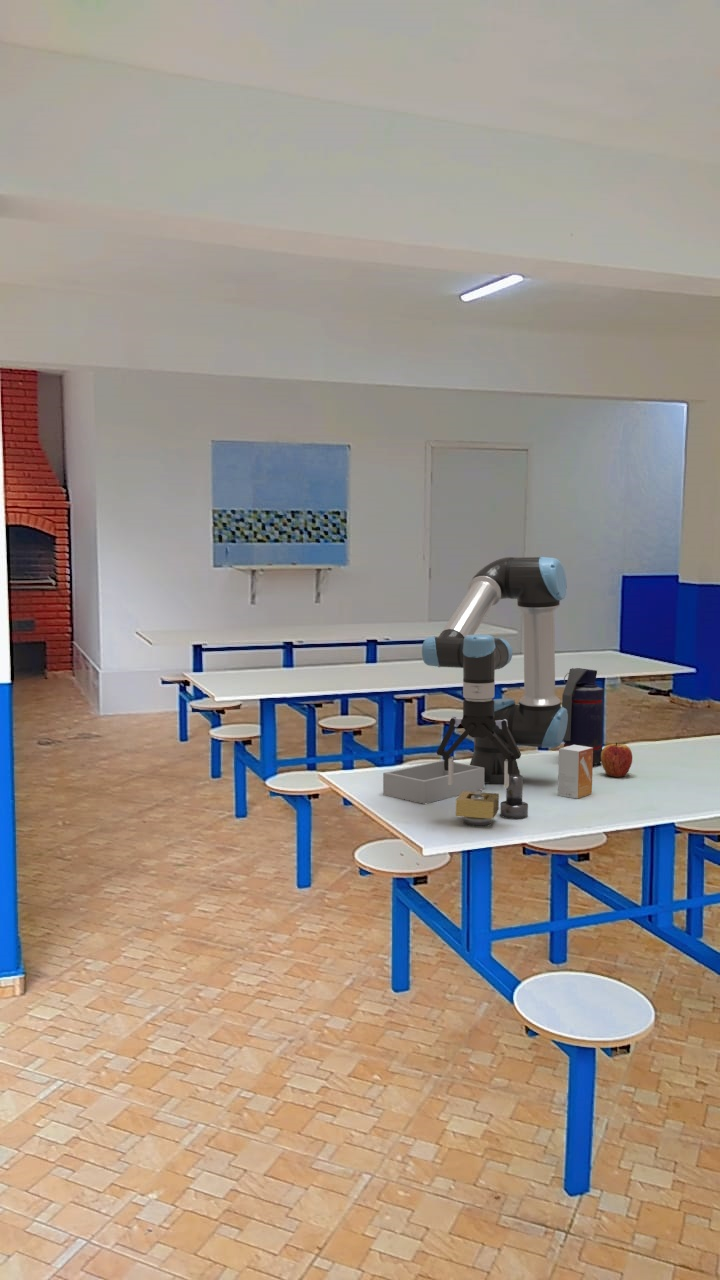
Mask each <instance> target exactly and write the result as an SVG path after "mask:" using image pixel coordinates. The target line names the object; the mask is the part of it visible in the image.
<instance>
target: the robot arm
mask: <svg viewBox="0 0 720 1280" xmlns="http://www.w3.org/2000/svg"><path fill="white" fill-rule="evenodd" d="M567 583H568V582H567V575H566V571H565V569H564V565H563V564H562V562H561V561H560V560H559V559H557V558H555V557H546V556H531V557H529V556H526V557H525V556H523V557H522V556H521V557H517V556H515V557H514V556H513V557H511V556H507V557H501V558H499V559H495V560H493V561H492V562H489V563H488V564H487V565H485V566H484V567H483V568H481V569H480V570H479V571H478V572H476V574H475V575H474V576H473V577H472V579H471V580H470V581H469V583H468V588H467V593H466V594H465V595H464V597H463V598H462V601H461V602H460V604H459V605H458V606H457V608H456V610H455V611H454V612H453V614H452V616H451V617H450V619H449V620H448V621H447V623H446V625H445V626H444V628H443V630H442V631H441V632H440V634H439V635H438V636H429V637H426V638H425V639H424V640H423V643H422V646H421V656H422V660H423V661H422V662H423V663H424V664H425V665H426V666H430V667H437V668H455V669H457V668H459V669H463V670H462V676H463V680H462V685H463V686H462V697H463V698H464V699H463V701H462V706H463V707H462V718H457V717H456V716H452V717H451V719H450V720H449V726H448V729H447V731H446V733H445V735H444V737H443V739H442V741H441V743H440V744H439V747H438V748H437V750H436V754H437V755H438V756H441V757H442V758H443V760H444V769H445V771H448V785H452V784H453V762H454V756H451V755H452V754H453V753H454V752H455V751H456V749H457V748H458V747H459V746H460V745H461V744H462V743H463V742H464V740H465V739H466V738H467V737H468V736H469V737H471V738H473V745H474V746H473V754H472V757H471V760H470V761H469V762H470V763H469V765H472V766H478V767H483V768H484V784H498V785H499V784H503V785H504V786H503V787H504V789H506V788H508V786H509V775H521V771H520V769H519V765H518V761H517V760H519V759H520V758H521V756H522V753H521V750H520V749H519V747H518V746H524V747H531V748H532V747H533V748H542V749H548V748H550V749H555V748H558V747H560V745H561V744H562V742H564V740H563V739H564V736H565V733H566V728H567V722H568V713H567V709H566V708H564V707H562V699H560V698H559V697H558V696H557V695H556V664H555V663H556V658H555V657H556V656H555V655H556V653H555V651H556V650H555V646H556V645H555V643H556V642H555V611H556V610H557V609H558V608H559V607H560V601H561V600H562V601H563V600H564V599H565V598H566V595H567V588H568V586H567ZM503 599H504V600H505V599H509V600H510V599H511V600H516V601H517V608H518V609H520V611H522V619H523V620H522V621H523V623H522V624H523V626H522V627H523V628H522V629H523V677H524V679H523V685H524V688H523V689H524V695H523V696H522V697H521V698H520V699H519V701H518V702H519V703H518V704H516V700H515V699H514V698H495V683H496V682H495V671H496V670H500V669H503V668H504V667H506V666H507V665H508V664H510V662H511V660H512V658H513V648H512V646H511V644H510V643H509V642H508V641H507V640H506V639H504V638H501V637H500V638H499V637H498V638H497V637H495V638H494V636H492V635H491V634H482V633H481V634H478V633H477V634H476V632H477V630H478V629H479V628H480V625H481V624H482V622H483V620H484V619H485V618H486V615H487V614H488V612H489V611H490V610H491V607H493V606H495V605H496V604H498V603H499V602H500V600H503ZM494 698H495V699H494ZM460 724H461V726H462V727H463V729H464V732H463V733H462V734H461V735H460V736H459V737H458V738H457V739H456V741H455V742H454V743H452V745H451V746H450V747H449V748H448V749H447V750H445V749H446V748H447V745H448V743H449V741H450V739H451V737H452V735H453V734H454V732H455V729H456V728H458V727H459V725H460Z"/></svg>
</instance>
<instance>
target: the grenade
mask: <svg viewBox="0 0 720 1280" xmlns="http://www.w3.org/2000/svg"><path fill="white" fill-rule="evenodd" d="M597 675H598V670H595V669H587V668H580V667H579V668H578V667H576V668H573V667H572V668H570V669H569V672H567V673H565V675H564V677H563V682H564V684H565V686H564V690H563V692H562V698H561V707H564V708H566V709H567V713H568V722H567V728H566V733H565V736H564V739H563V743H564V744H563V748H564V747H567V746H571V745H579V746H586V747H593V765H598V766H601V765H602V762H601V752H602V750H603V744H604V742H603V740H604V736H603V734H604V701H603V699H604V695H605V693H604V691H605V690H604V688H603V687H600V686H599V685H598V684H596V679H597ZM566 678H567V681H566Z"/></svg>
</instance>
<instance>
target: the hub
mask: <svg viewBox="0 0 720 1280" xmlns="http://www.w3.org/2000/svg"><path fill="white" fill-rule="evenodd" d="M481 793H482V790H474V795H473V796H471V799H484V796H482V795H481ZM462 817H463V816H462ZM462 823H463V824H464V825H466V826H469V825H470V827H476V826H482V827H489V826H491V825H492V819H490V818H476V817H463V822H462ZM488 825H489V826H488Z"/></svg>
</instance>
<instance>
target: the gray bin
mask: <svg viewBox="0 0 720 1280" xmlns="http://www.w3.org/2000/svg"><path fill="white" fill-rule="evenodd" d="M382 781H383V782H382V784H383V785H382V789H383V790H382V792H383V793H382V794H383V795H384V796H389V797H393V798H397V799H400V800H404V799H405V801H409V800H410V802H413V801H414V803H417V802H420V803H419V804H421V803H423V804H422V805H426V804H425V803H427V804H431V803H434V801H435V802H439V801H442V800H446V799H449V798H453V797H459V795H460V794H461V793H462V791H466V792H474V790H481V791H482V790H485V783H484V768H483V767H478V766H472V765H470V764H466V763H461V762H456V761H453V784H452V785H448V771H445V769H444V759H442V760H438V761H432V762H428V763H423V764H419V765H418V764H417V765H414V766H409V767H405V768H398V769H395V770H390V771H385V772H383V779H382ZM438 800H439V801H438ZM430 802H431V803H430Z"/></svg>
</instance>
